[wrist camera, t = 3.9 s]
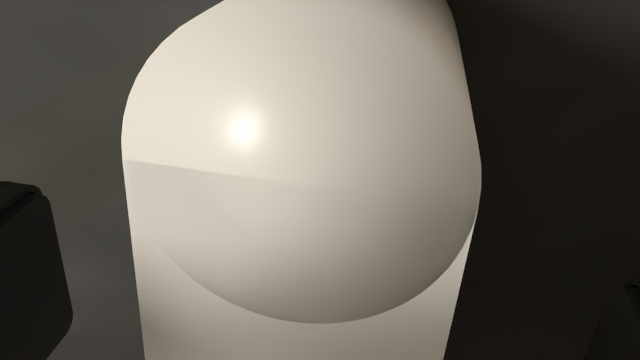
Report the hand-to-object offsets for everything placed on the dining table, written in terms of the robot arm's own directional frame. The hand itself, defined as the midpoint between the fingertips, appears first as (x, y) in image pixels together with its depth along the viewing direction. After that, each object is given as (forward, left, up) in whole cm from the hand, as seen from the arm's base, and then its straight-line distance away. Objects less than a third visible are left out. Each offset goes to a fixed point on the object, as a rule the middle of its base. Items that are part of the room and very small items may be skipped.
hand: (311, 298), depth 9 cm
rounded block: (-1, 0, -4) cm, 4 cm away
